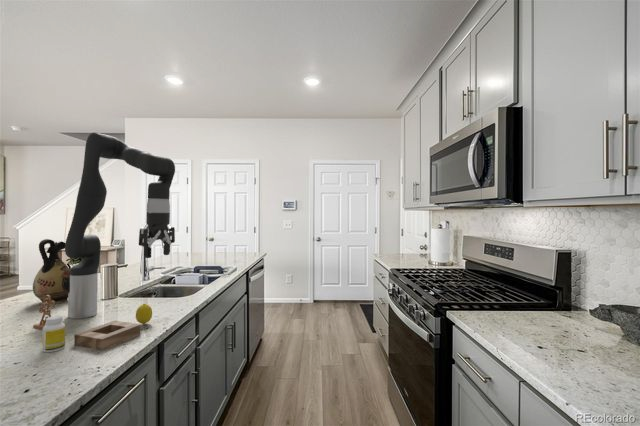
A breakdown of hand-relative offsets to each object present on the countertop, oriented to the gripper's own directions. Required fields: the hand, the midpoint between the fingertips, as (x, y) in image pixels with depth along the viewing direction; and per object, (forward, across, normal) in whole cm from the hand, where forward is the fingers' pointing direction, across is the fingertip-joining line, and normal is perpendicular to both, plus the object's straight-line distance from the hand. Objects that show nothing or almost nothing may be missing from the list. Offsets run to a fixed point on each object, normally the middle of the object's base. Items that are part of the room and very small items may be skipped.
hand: (157, 256), depth 114 cm
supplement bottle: (+27, +22, -18) cm, 39 cm away
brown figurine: (+28, +10, -40) cm, 50 cm away
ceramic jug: (+28, -14, -74) cm, 80 cm away
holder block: (+27, +11, -8) cm, 30 cm away
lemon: (+27, -4, -9) cm, 29 cm away
